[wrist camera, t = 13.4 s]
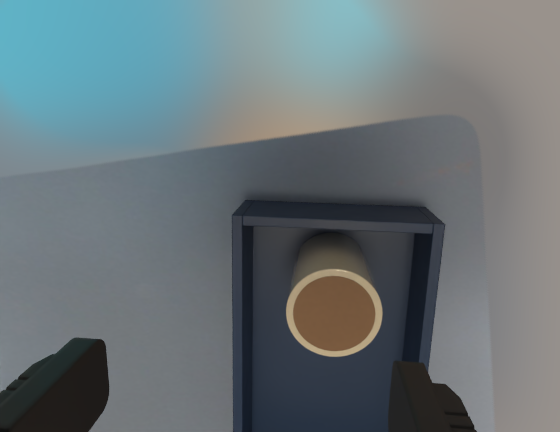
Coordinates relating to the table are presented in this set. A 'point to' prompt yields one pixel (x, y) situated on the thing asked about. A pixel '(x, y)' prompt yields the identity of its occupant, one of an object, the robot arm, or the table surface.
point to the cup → (333, 297)
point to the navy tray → (294, 356)
